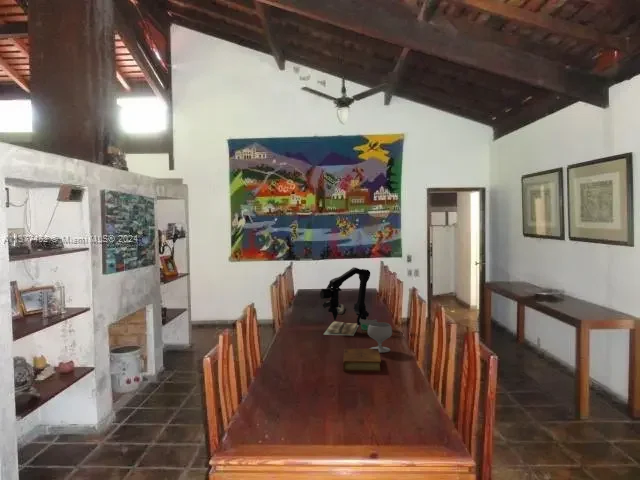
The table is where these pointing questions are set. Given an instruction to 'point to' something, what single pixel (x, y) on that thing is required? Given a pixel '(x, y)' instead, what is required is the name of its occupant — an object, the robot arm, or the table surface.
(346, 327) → the oak board
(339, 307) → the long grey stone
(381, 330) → the chalice
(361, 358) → the diary
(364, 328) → the food container
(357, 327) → the underlay mat
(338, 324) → the plank
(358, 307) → the robot arm
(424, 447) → the table surface
